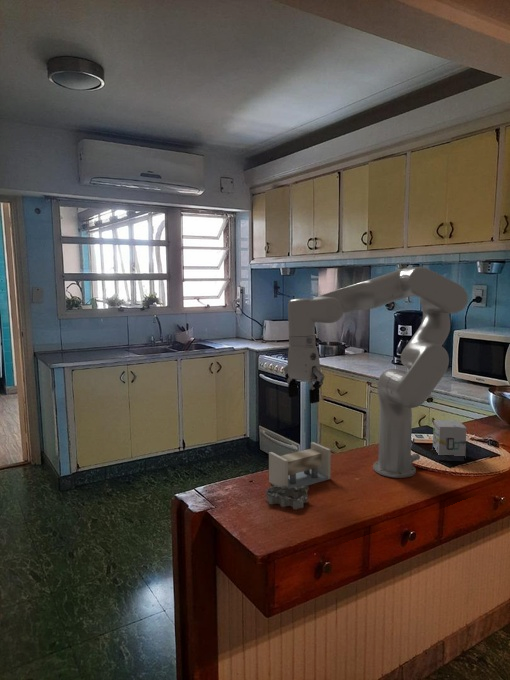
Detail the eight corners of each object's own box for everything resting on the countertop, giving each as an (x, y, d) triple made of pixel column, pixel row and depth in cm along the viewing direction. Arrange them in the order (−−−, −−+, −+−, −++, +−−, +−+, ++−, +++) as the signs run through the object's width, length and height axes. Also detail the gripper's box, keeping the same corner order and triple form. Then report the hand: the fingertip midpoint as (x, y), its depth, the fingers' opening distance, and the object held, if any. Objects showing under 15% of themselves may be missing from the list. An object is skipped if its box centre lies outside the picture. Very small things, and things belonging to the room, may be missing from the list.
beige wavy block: (310, 461, 144) (310, 448, 143) (321, 466, 139) (321, 453, 139) (278, 469, 137) (278, 456, 137) (288, 475, 133) (288, 461, 132)
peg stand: (313, 470, 146) (313, 442, 145) (330, 478, 140) (330, 449, 139) (269, 482, 138) (268, 452, 137) (285, 492, 131) (285, 461, 130)
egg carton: (310, 500, 126) (310, 486, 126) (299, 512, 120) (300, 497, 119) (274, 492, 131) (275, 478, 131) (262, 503, 125) (262, 489, 124)
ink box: (432, 452, 161) (433, 419, 160) (458, 453, 160) (459, 419, 159) (438, 461, 153) (439, 426, 152) (465, 462, 152) (467, 427, 150)
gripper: (332, 342, 130) (333, 402, 132) (293, 338, 145) (295, 392, 147) (311, 345, 126) (313, 407, 128) (274, 340, 141) (275, 396, 143)
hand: (303, 399), depth 138 cm, fingers open, 9 cm apart
